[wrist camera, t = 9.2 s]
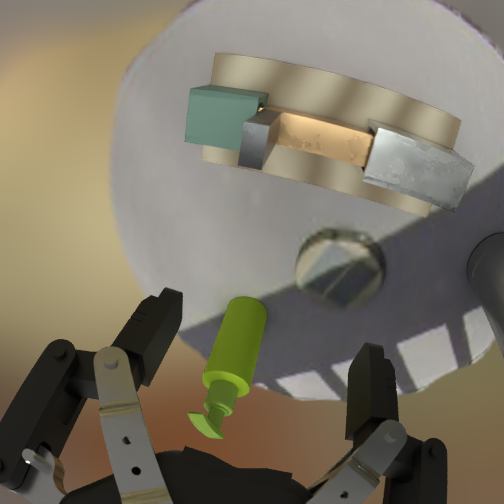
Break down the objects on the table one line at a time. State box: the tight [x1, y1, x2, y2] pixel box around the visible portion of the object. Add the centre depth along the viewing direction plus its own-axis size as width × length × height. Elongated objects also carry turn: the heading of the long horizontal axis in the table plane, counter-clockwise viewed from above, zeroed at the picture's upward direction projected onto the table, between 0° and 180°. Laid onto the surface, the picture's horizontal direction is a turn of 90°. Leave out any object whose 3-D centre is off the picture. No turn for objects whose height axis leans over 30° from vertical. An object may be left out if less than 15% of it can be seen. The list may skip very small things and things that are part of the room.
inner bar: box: [238, 104, 375, 170], centre depth 23 cm, size 18×3×10 cm, turn 81°
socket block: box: [185, 85, 268, 151], centre depth 27 cm, size 6×5×6 cm
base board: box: [201, 53, 461, 218], centre depth 29 cm, size 26×12×1 cm, turn 81°
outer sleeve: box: [356, 118, 474, 213], centre depth 25 cm, size 10×5×6 cm, turn 81°
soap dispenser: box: [188, 297, 267, 439], centre depth 36 cm, size 6×7×20 cm
